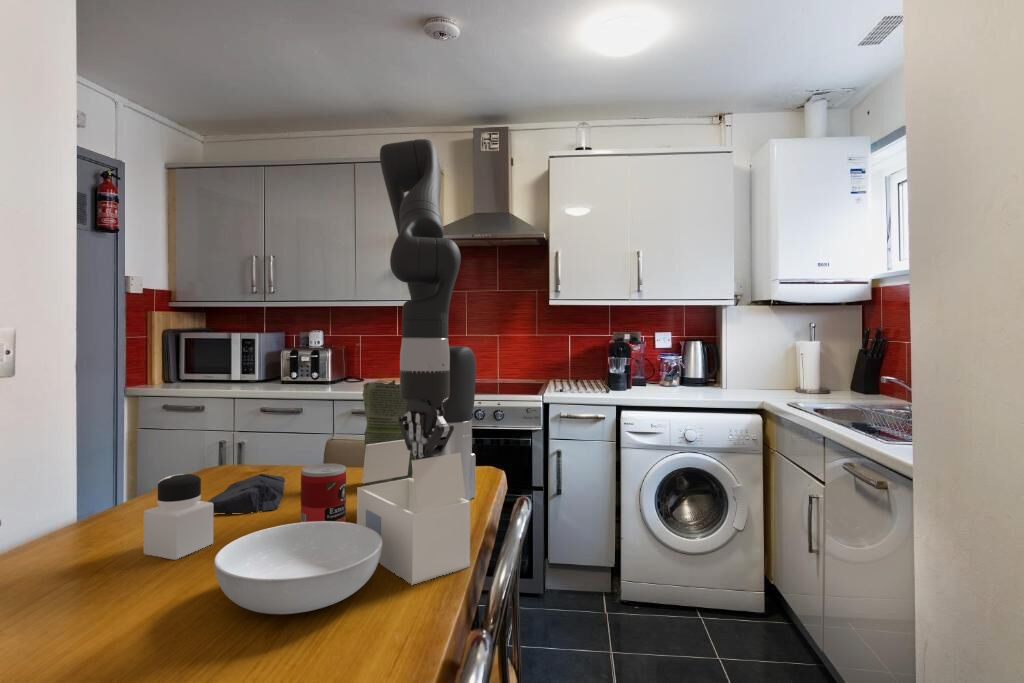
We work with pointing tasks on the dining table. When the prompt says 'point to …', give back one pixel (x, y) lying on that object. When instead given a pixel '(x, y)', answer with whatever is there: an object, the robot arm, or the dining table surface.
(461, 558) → the carton
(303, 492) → the canned food
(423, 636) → the dining table surface
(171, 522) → the medicine bottle
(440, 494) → the near flap
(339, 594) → the serving bowl
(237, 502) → the dark slate chunk
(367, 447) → the far flap
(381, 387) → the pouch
